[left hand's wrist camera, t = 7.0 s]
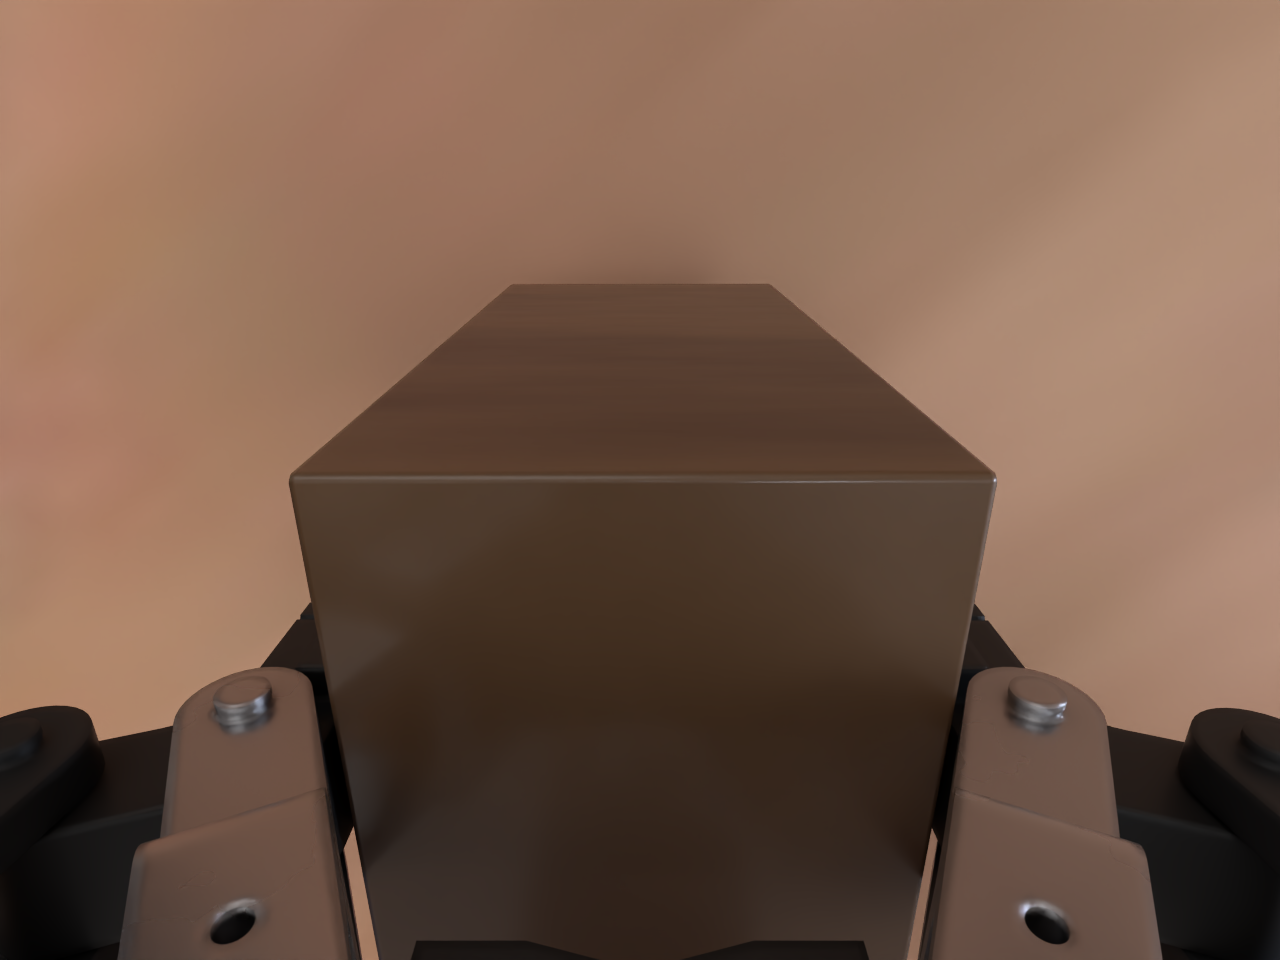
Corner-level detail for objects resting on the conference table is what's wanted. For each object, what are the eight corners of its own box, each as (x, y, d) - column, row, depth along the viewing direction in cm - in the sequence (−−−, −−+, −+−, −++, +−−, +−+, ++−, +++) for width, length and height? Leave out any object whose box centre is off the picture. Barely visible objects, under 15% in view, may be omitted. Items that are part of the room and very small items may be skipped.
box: (509, 283, 18) (282, 475, 6) (771, 283, 18) (1003, 472, 6) (555, 988, 27) (494, 1578, 15) (728, 988, 27) (792, 1577, 15)
